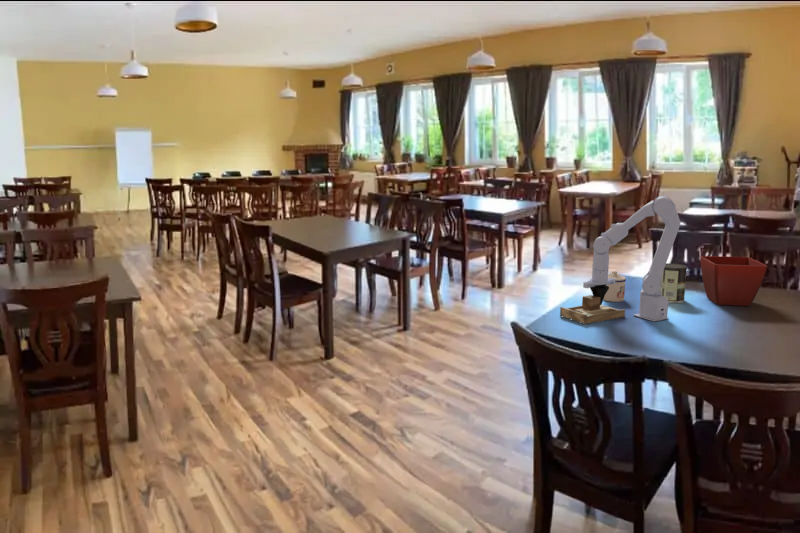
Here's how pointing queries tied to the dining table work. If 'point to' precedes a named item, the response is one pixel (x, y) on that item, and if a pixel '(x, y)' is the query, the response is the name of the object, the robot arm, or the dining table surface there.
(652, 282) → the robot arm
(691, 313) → the dining table surface
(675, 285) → the coffee can
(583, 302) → the walnut block
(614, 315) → the board
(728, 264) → the plant pot
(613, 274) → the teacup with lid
